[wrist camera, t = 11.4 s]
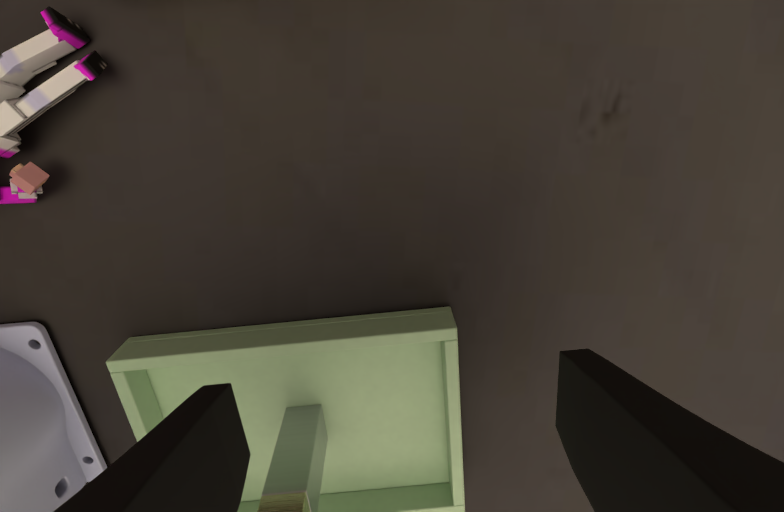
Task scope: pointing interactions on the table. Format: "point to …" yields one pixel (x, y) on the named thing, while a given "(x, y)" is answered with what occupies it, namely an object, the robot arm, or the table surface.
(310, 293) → the table surface
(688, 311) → the table surface
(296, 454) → the tall bottle
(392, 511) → the tray
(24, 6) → the table surface
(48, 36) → the character figurine
